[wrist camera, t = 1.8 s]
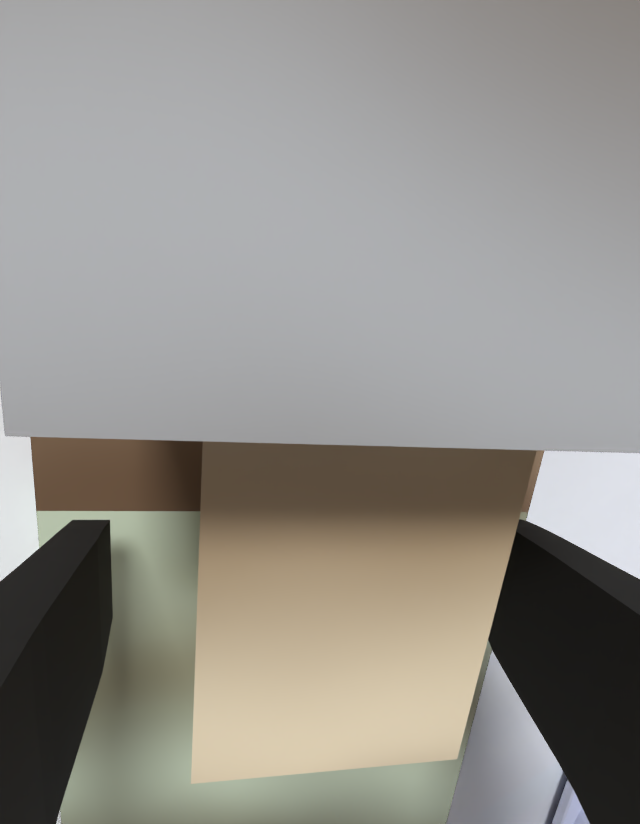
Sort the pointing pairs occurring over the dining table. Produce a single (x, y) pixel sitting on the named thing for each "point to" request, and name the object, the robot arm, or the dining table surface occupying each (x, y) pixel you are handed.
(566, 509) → the dining table surface
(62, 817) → the tunnel deck
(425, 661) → the maple bar
